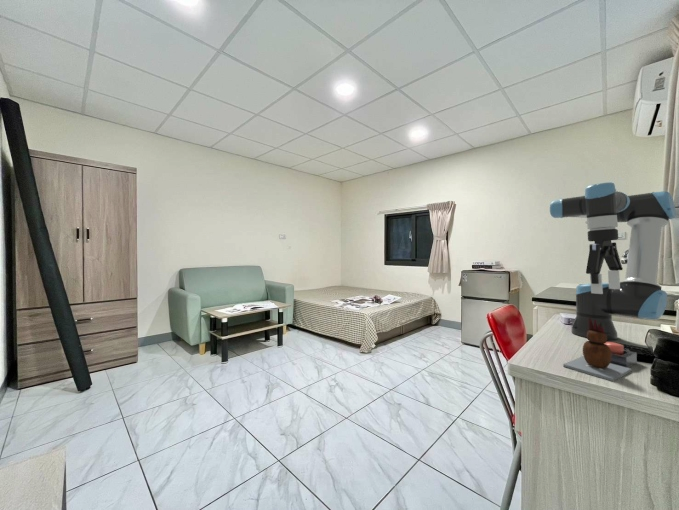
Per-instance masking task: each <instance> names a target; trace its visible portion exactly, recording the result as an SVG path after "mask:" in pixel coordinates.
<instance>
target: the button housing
mask: <svg viewBox="0 0 679 510" xmlns="http://www.w3.org/2000/svg"><path fill="white" fill-rule="evenodd" d="M637 357H638V353H637V352H636V351H631V350H627V349H624V354H623V355H619V354H615V353H612V359H611V362H610V363H611V364H615V365H619V366H623V367H627V368H631V367H632V366H634V365H636V364H637V363H638V362H637V361H638V360H637V359H638V358H637Z"/></svg>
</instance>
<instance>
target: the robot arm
mask: <svg viewBox="0 0 679 510" xmlns="http://www.w3.org/2000/svg"><path fill="white" fill-rule="evenodd" d="M549 213H550V215H551V217H552V218H554V219H559V218H560V219H563V218H581V219H582V218H584V219H586V221H585V224H587V225H586V227H587V230H588V231H587V241H588V242H594V243H591V244H589V246H588V248H589V251H588V252H589V253H588V258H587V264H586V271H585V273H586V274H587V275H589V277H590V278H589V279H590V281H589V282H590V283H583V284H578V285H577V286H576V292H575V298H576V299H575V309H576V311H575V312H576V316H575V318H574V321H573V323H572V324H571V325H572V326H571V333H572V334H574V335H577V336H579V337H584V338H587V332H588V331H589V318H591V321H592V324H593V326H594V321H595V320H596V323H597V327H598V324H600V327H603V329H604V333H605V334H606V336H607V341H615V340H617V339H618V331H617V329H616V326H615V324H614V322H613V320H612V318H613V317H612V316H613V315H615V316H620V317H621V316H622V317H630V318H636V319H640V320H642V319H643V320H644V319H645V320H651V321H652V320H654V321H655V320H658V319H660V318H661V317H662V315H664V314H665V310H666V308H667V304H668V293H667V292H666V291H664V290H663V289H662V286H661V285H660V284H659V283H657V278H658V277H657V275H658V269H659V267H658V266H659V257H660V249H661V237H662V231H663V227H665V226H667V225H669V220H673V219H676V215H677V214H676V213H677V212H676V206H675V202H674V199H673V196H672V194H671V193H670V192H669V191H652V192H646V193H639V194H630V195H628V194H626V193H624V192H621V191H618V190H617V189H616V185H615V183H614V182H602V183H596V184H592V185H588V186H586V188H585V191H584V195H580V196H573V197H567V198H559V199H555V200H552V202H550V204H549ZM618 223H627V225H628V226H629V227H630V228H631V231H630V238H629V244H628V245H629V248H628V252H627V253H628V254H627V261H626V270H625V271H626V272H625V278H624V279H623V280H622V281H620V271H623V267H622V261H621V260H620V259H621V258H620V255H619V252H618V247H617V242H614V241H617V240H619V232H618V231H619V230H618V225H619V224H618ZM612 241H613V242H612ZM604 261H605V263H606V265H607V267H608V269H609V270H607V275H608V276H607V277H608V278H607V279H608V282H603V276H602V275H603V274H602V273H601V270H602V267H603V263H604Z"/></svg>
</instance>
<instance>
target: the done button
mask: <svg viewBox="0 0 679 510" xmlns="http://www.w3.org/2000/svg"><path fill="white" fill-rule="evenodd" d="M604 344H606V345H607V346H608V347H609V348H610V350H611V353H615V354H619V355H623V354H624V350H625V348H624V345H623V344H621V343H616V342H613V341H612V342H611V341H607V342H606V343H604Z"/></svg>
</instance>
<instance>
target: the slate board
mask: <svg viewBox="0 0 679 510" xmlns="http://www.w3.org/2000/svg"><path fill="white" fill-rule="evenodd" d="M562 366H563V367H564V368H567V369H570V370H574V371H577V372H580V373H583V374H587V375H591V376H594V377H597V378H600V379H604V380H607V381H611V382H615V381H616V380H619V379H620V378H622V377H624V376H625V375H627V374H629V373H631V372H632V368H631V367H628V368H627V367H623V366H619V365H615V364H611V363H610V364H609V365H608V367H606V368H597V367H593V366H591V365H589V364H588V363H587V362H586V360H585V358H584V355H583V356H580V357H576V358H575V359H573V360H569V361H567V362H565V363H563V365H562Z"/></svg>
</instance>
